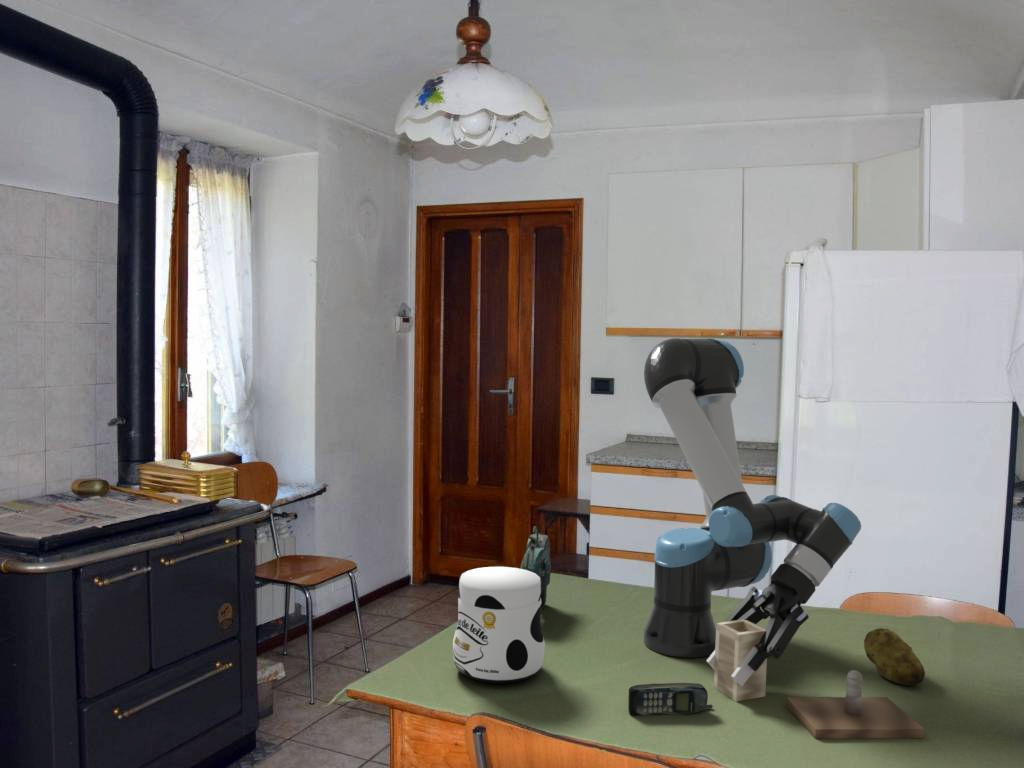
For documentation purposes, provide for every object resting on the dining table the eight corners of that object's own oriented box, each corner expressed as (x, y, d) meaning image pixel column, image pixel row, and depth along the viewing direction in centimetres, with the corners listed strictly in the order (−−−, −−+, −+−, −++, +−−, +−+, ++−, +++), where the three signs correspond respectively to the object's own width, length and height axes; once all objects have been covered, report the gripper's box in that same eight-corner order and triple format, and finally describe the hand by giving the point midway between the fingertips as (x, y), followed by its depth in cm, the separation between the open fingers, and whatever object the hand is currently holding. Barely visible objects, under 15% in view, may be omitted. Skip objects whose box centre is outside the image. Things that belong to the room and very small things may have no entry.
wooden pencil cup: (736, 701, 149) (739, 634, 149) (713, 687, 155) (716, 623, 154) (765, 696, 152) (768, 630, 151) (742, 682, 158) (744, 619, 157)
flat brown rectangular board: (815, 738, 136) (817, 685, 136) (786, 705, 148) (788, 656, 148) (923, 738, 137) (926, 685, 137) (886, 705, 149) (889, 657, 149)
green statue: (527, 600, 203) (530, 517, 201) (554, 603, 201) (557, 519, 200) (511, 628, 183) (513, 537, 182) (540, 631, 182) (543, 539, 181)
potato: (882, 689, 156) (884, 646, 156) (857, 662, 169) (859, 623, 169) (928, 691, 156) (931, 648, 155) (899, 664, 169) (902, 624, 168)
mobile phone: (631, 690, 142) (717, 685, 144) (626, 683, 145) (710, 678, 147) (630, 719, 142) (716, 714, 144) (626, 711, 145) (710, 706, 147)
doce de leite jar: (436, 681, 155) (438, 584, 154) (473, 649, 171) (475, 560, 170) (526, 698, 149) (529, 597, 148) (555, 662, 165) (558, 571, 164)
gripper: (849, 603, 150) (771, 708, 144) (774, 573, 167) (702, 665, 162) (827, 577, 147) (747, 682, 142) (753, 549, 165) (680, 642, 159)
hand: (723, 673), depth 152 cm, fingers closed on wooden pencil cup, 6 cm apart
